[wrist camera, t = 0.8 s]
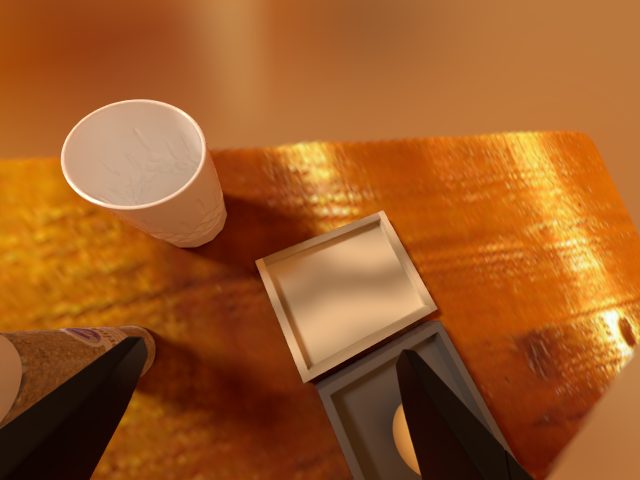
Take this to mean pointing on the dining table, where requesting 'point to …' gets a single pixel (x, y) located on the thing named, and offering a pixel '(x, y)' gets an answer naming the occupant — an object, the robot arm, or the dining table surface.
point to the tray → (343, 292)
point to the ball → (404, 440)
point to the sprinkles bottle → (53, 361)
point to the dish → (391, 401)
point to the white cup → (147, 170)
